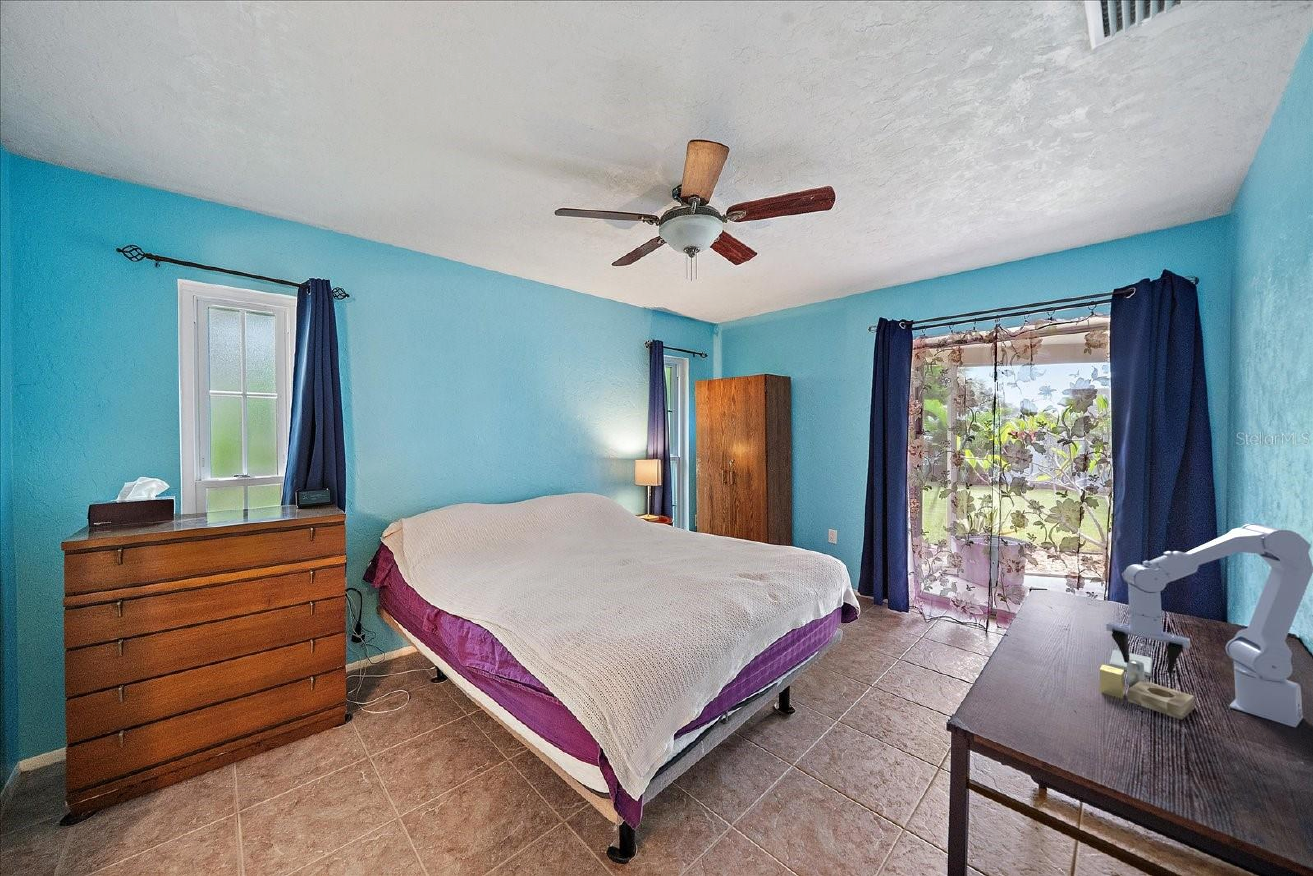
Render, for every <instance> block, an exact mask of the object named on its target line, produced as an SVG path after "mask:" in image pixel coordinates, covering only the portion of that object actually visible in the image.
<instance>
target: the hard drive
mask: <svg viewBox="0 0 1313 876" xmlns="http://www.w3.org/2000/svg"><path fill="white" fill-rule="evenodd" d="M1129 659H1131V660H1137V661H1140V662H1142V663H1143V664H1144V676H1147V677H1152V670H1153V658H1152V657H1149V656H1145V655H1140V654H1136V653H1131V652H1129ZM1108 666H1111V667H1114V668H1118V669H1122V670H1124V671H1125V672H1127V663H1126V662H1124V659H1123V656H1122V653H1121V651H1120V650H1118V649H1117V650H1116V649H1113V650H1112V653H1111V657H1110V660H1109V665H1108Z"/></svg>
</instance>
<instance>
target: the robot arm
mask: <svg viewBox="0 0 1313 876" xmlns="http://www.w3.org/2000/svg"><path fill="white" fill-rule="evenodd" d="M1311 547H1312V544H1310V543H1309V542H1308V541H1307V540H1306V539H1305V538H1303V536H1301V535H1300V534H1299V533H1297V532H1296V531H1293V530H1290V529H1284V528H1283V529H1281V528H1277V527H1273V526H1267V525H1264V524H1261V523H1247V524H1244V525H1242V526H1241V527H1237V528H1232V529H1230V531H1228V532H1227V533H1226V534H1224V535H1222V536H1219V537H1217V538H1214V539H1213V540H1210V541H1208V542H1206V543H1204V544H1201V545H1199V546H1198V547H1195V548H1193V549H1191V550H1188V551H1186V552H1183V551H1178V550H1174V551H1170V550H1167V551H1163V555H1161V556H1158V557H1157V558H1154V559H1151V560H1144V561H1142V564H1137V563H1136V564H1134V563H1133V564H1131V565H1128V566H1127V567H1125V568H1126V569H1125V570H1124V571H1123V572H1122V573H1121V576H1122V578H1123V580H1124V581H1125V582H1127V588H1128V589H1127V590H1128V592H1127V593H1128V594H1127V595H1128V609H1129V611H1128V613H1129V624H1125V623H1118V622H1112V621H1107V622H1106V624H1105V626H1106V631H1107V632H1111V637H1112V639H1113V640H1114V642H1115V643H1116V645H1117V646H1118V648H1119V651H1121V653H1122V656H1123V659H1124V662H1126V663H1128V662H1129V653H1130V652H1129V650H1130V649H1129V635H1130V636H1134V637H1138V638H1143V639H1147V640H1148V639H1149V640H1152V641H1157V642H1161V643H1166V644H1167V645H1166V653H1167V673H1168V674H1170V675H1173V673H1174V668H1175V667H1174V666H1175V664H1176V660H1177V659H1178V657H1179V656H1180V654H1181V653H1182V651H1183V649H1184V648H1185V649H1190V648H1191V638H1188V637H1185V636H1184V637H1183V636H1180V635H1176V634H1174V633H1170V632H1167V631H1166V632H1165V631H1163V616H1162V614H1163V613H1162V598H1161V592H1162V591H1164V589H1165V588H1166V586H1167V585H1168V583H1171V582H1174V581H1177V580H1179V579H1181V578H1184V577H1187V576H1191V575H1192V574H1195V573H1197V572H1198V568H1199V566H1201V565H1203V564H1206V563H1209V562H1212V561H1215V560H1218V559H1221V558H1224V557H1227V556H1231V555H1234V554H1237V553H1247V554H1248V553H1249V554H1256V555H1259V556H1260V557H1261V559H1263V560H1264V561H1265V562H1266V563H1267V564H1268V565H1269V566H1270V568H1271V569H1270V570H1269V571H1270V572H1269V574H1268V577H1266V581H1265V583H1264V586H1263V589H1262V591H1261V594H1260V596H1259V599H1258V602H1257V604H1256V607H1255V608H1254V612H1253V614H1252V617H1251V619H1250V622H1249V625H1248V626H1247V628H1243V629H1240V630H1238V631H1237V633H1236V634H1235V636H1234V637H1233V638H1232V639H1230V640H1229V641H1227V643H1225V644H1226V645H1225V651H1226V654H1227V655H1228V657H1229V658H1230V659H1231V660H1233V671H1234V672H1233V673H1234V690H1235V691H1234V692H1235V693H1234V694H1235V699H1234V700H1233V701H1232V702H1231V703H1230V704H1229V708H1231V709H1235V710H1238V711H1241V712H1244V713H1248V714H1251V715H1254V716H1257V717H1261V718H1262V719H1263V718H1264V719H1267V720H1269V721H1273V722H1276V723H1280V724H1283V725H1286V726H1289V727H1292V728H1297V726H1299V724H1300V722H1301V721H1302V720H1303V718H1304V715H1303V713H1304V712H1303V701H1302V689H1301V685H1300V684H1299V683H1297V682H1294V681H1291V680H1288V678H1289V677H1291V675H1292V673H1293V668H1294V667H1293V665H1292V657H1293V652H1292V650H1291V648H1290V647H1289V646H1288V644H1287V642H1286V639H1287V637H1288V635H1289V632H1290V630H1291V627H1292V625H1293V622H1294V620H1295V617H1296V614H1297V612H1298V609H1299V608H1300V606H1301V605H1300V604H1301V602H1302V600H1303V597H1304V595H1305V593H1306V590H1307V588H1308V585H1309V583H1310V580H1311V578H1312V575H1313V562H1312V559H1311V555H1310V553H1309V551H1310V549H1311Z"/></svg>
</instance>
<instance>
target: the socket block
mask: <svg viewBox="0 0 1313 876" xmlns="http://www.w3.org/2000/svg"><path fill="white" fill-rule="evenodd" d="M1127 697H1128V702H1129V703H1132V704H1134V705H1138V706H1141V707H1143V708H1147V709H1149V710H1152V711H1155V712H1158V713H1161V714H1163V715H1167V716H1170V717H1172V718H1175V719H1178V720H1181V721H1182V720H1184V719H1185V718H1186V717H1188V715H1189V714H1190V713H1191V712H1192V711H1193V710H1195V696H1194V695H1192V694H1189V693H1186V692H1183V691H1179V690H1176V689H1173V688H1170V687H1167V686H1164V685H1159V684H1157V683H1154V682H1150V681H1147V680H1145V681H1144V680H1141V681H1139V682H1138V683H1136V684H1135V685H1134V686H1131V687H1129V688H1128V689H1127Z"/></svg>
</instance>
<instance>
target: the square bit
mask: <svg viewBox="0 0 1313 876" xmlns="http://www.w3.org/2000/svg"><path fill="white" fill-rule="evenodd" d="M1099 679H1100V681H1099V682H1100V693H1102V694H1105V695H1108V696H1112V697H1114V696H1115V697H1114V698H1119V699H1122V700H1123V699H1124V697H1125V695H1126V684H1125V683H1126V682H1125V670H1122V669H1118V668H1114V667H1111V666H1109V665H1106V664H1102V665H1101V666H1100V668H1099Z"/></svg>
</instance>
